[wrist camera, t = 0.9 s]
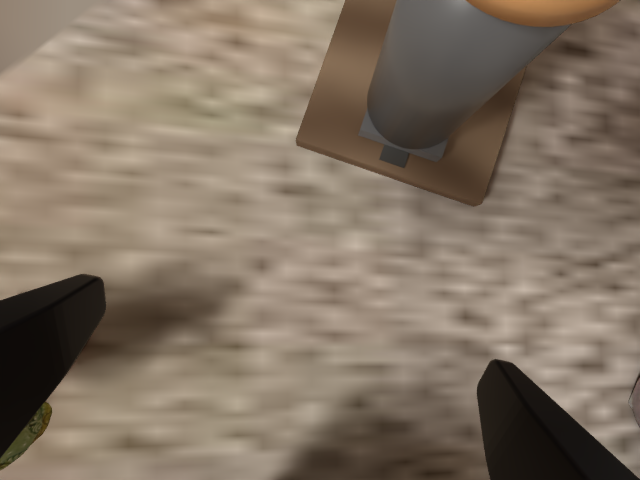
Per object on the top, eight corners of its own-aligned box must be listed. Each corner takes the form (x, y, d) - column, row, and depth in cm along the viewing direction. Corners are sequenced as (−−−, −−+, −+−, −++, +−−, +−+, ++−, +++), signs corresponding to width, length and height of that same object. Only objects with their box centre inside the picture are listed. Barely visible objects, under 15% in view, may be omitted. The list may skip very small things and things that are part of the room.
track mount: (473, 206, 24) (515, 192, 19) (296, 145, 24) (291, 115, 19) (542, -7, 25) (600, -74, 20) (371, -65, 25) (385, -147, 20)
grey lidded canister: (444, 175, 22) (665, 32, 8) (343, 140, 22) (392, -62, 8) (476, 77, 23) (743, -222, 9) (377, 43, 23) (480, -311, 9)
